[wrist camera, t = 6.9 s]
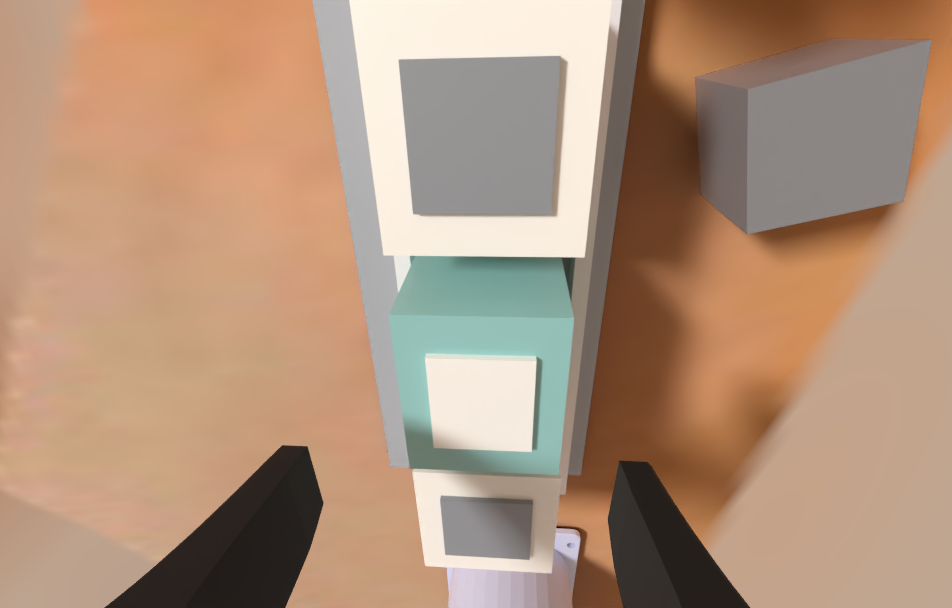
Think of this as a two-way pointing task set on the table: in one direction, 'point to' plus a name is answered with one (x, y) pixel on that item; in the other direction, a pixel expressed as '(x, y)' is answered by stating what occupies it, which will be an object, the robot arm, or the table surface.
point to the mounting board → (482, 202)
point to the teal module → (483, 362)
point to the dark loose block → (810, 131)
